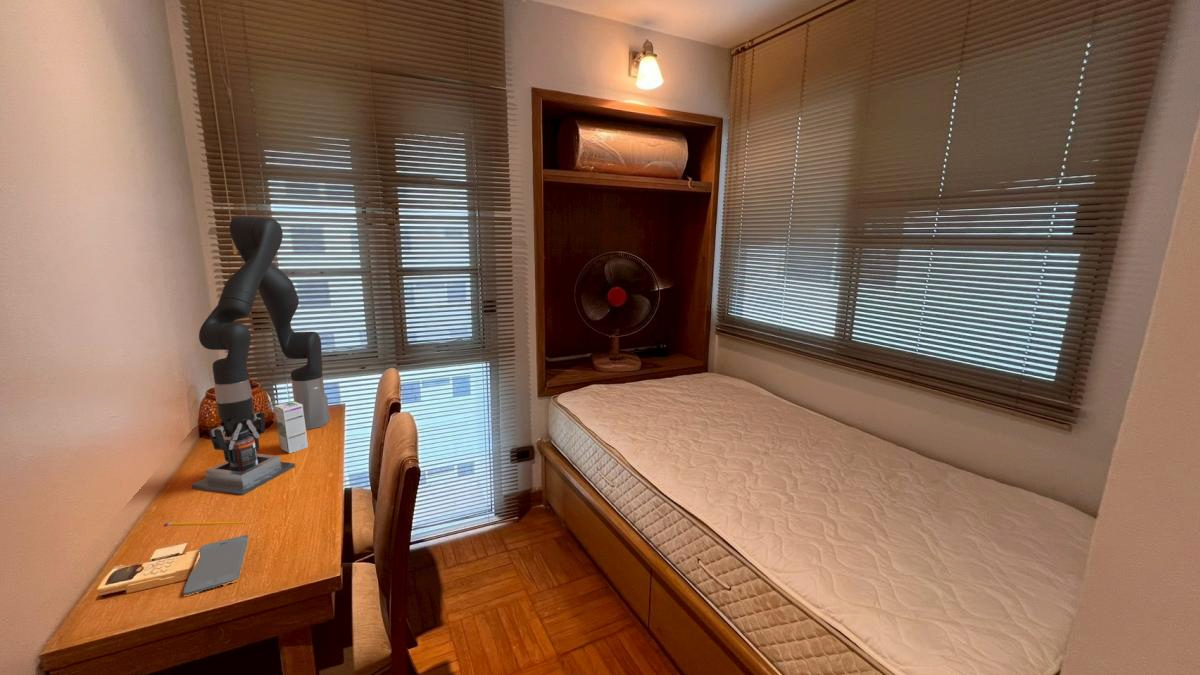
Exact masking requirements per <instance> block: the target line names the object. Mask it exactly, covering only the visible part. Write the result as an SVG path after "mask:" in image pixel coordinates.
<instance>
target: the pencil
mask: <svg viewBox="0 0 1200 675" xmlns="http://www.w3.org/2000/svg"><path fill="white" fill-rule="evenodd" d="M249 522H250V521H217V522H216V521H215V522H211V521H209V522H208V521H207V522H205V521H204V522H167V523H164V527H184V526H183V525H190V526H191V525H192V527H194V526H193V525H195V526H196V525H199V526H218V525H217V524H238V523H240V524H245V523H249ZM215 524H216V525H215ZM249 524H250V523H249ZM181 525H182V526H181ZM190 526H189V527H190Z"/></svg>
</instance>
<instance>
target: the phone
mask: <svg viewBox="0 0 1200 675" xmlns="http://www.w3.org/2000/svg"><path fill="white" fill-rule="evenodd" d="M248 538H249V536H248V535H247V534H244V535H241V536H240V535H239V536H236V537H231V538H227V539H224V540H219V541H215V542H212V543H207V544H204V545H202V546H200V547H199V549H198V552H200V558H199V560H198V563H197V564H196V567H195V569H194V570H193V571H192V572H191V571H190V573H189V576H188V578H187V581H186V584H185V586H184V588H183V591H182V595H189V594H192V593H196V592H200V593H201V592H204V591H203V590H206V591H208V590H207V589H209V588H213V587H216V586H219V585H222V584H226V583H228V582H232V581H234V580H236V579H237V578H239V574H240V570H241V567H242V568H243V565H242V562H243V563H244V561H243V559H244V560H245V557H244V554H245V555H246V553H245V550H246V551H247V549H246V547H247V548H248V544H247V542H248V543H249V540H248ZM241 571H242V570H241ZM240 575H241V574H240ZM239 579H240V578H239ZM219 587H220V586H219ZM216 588H217V587H216ZM213 589H214V588H213ZM209 590H210V589H209Z"/></svg>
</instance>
